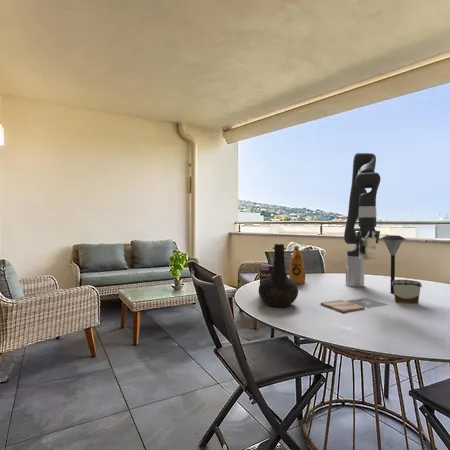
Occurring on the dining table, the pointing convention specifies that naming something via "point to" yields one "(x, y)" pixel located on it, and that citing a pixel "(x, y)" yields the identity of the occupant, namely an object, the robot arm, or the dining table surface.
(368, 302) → the tile
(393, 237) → the solar garden light
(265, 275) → the supplement box
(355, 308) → the walnut board
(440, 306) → the dining table surface
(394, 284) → the food container
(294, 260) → the coffee package
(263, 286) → the glass bottle
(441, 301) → the dining table surface
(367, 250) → the birch block
